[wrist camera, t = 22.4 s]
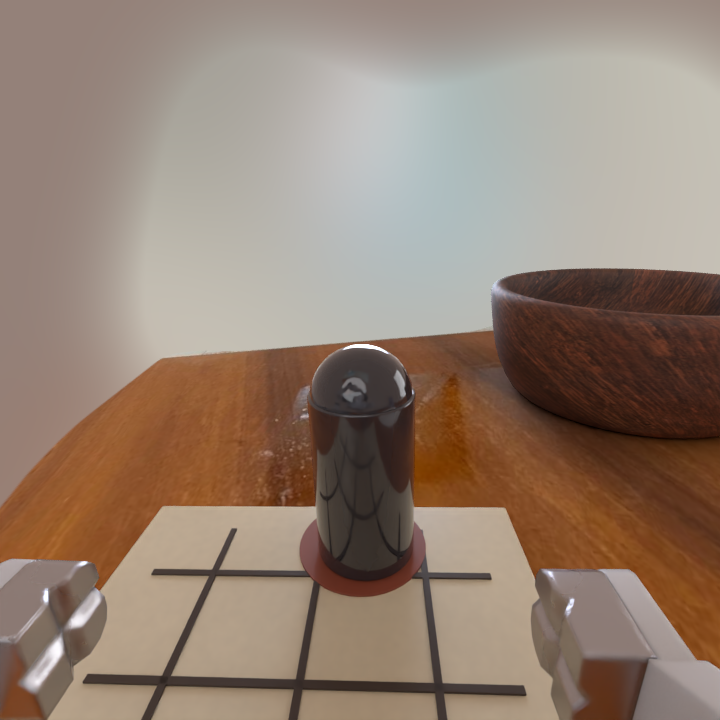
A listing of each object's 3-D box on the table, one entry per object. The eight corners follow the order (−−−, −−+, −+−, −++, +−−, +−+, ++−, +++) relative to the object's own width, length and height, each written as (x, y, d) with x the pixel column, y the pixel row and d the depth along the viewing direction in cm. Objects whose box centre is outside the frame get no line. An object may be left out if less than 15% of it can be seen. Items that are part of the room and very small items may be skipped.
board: (-413, 1357, 7) (-467, 1340, 7) (167, 519, 26) (163, 501, 26) (893, 1519, 6) (931, 1510, 6) (503, 521, 25) (504, 503, 25)
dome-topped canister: (312, 581, 20) (293, 366, 16) (325, 512, 24) (312, 332, 21) (416, 583, 20) (420, 364, 16) (410, 513, 24) (412, 330, 21)
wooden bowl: (549, 339, 59) (558, 263, 55) (808, 388, 41) (844, 280, 38) (435, 393, 43) (438, 290, 39) (779, 510, 25) (837, 342, 22)
